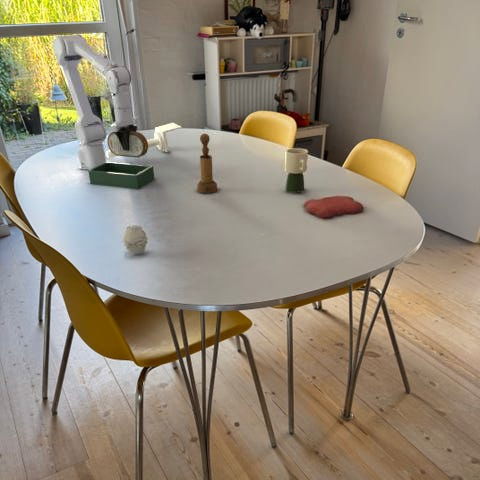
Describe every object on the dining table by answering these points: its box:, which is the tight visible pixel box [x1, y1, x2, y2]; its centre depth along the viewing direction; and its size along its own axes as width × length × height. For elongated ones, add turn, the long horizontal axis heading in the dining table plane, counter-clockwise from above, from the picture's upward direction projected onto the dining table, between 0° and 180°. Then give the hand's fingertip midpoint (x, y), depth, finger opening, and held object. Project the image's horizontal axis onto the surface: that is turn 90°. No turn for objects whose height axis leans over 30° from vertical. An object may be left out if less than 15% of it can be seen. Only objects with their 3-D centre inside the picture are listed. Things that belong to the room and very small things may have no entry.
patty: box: [303, 195, 364, 219], centre depth 145 cm, size 18×14×2 cm
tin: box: [106, 131, 149, 158], centre depth 168 cm, size 15×3×8 cm, turn 70°
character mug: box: [284, 147, 309, 194], centre depth 155 cm, size 11×7×13 cm, turn 21°
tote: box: [87, 161, 155, 190], centre depth 169 cm, size 19×12×5 cm, turn 70°
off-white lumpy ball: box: [122, 224, 149, 255], centre depth 119 cm, size 6×7×7 cm
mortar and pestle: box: [196, 133, 218, 195], centre depth 156 cm, size 7×6×18 cm
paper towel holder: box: [105, 122, 183, 159], centre depth 200 cm, size 9×9×32 cm
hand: (128, 149), depth 169 cm, fingers closed on tin, 2 cm apart
